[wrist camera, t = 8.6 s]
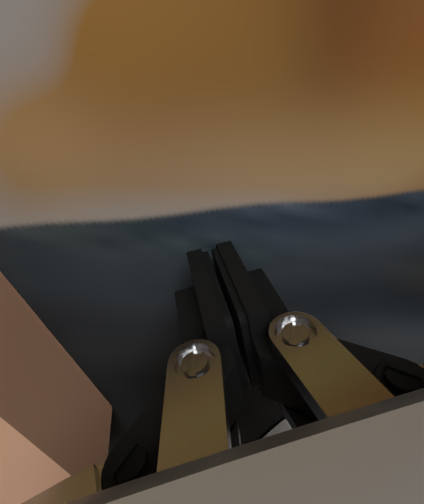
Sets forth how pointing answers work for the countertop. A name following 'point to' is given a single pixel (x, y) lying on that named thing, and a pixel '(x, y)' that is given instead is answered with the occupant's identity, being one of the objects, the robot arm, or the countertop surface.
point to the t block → (43, 406)
